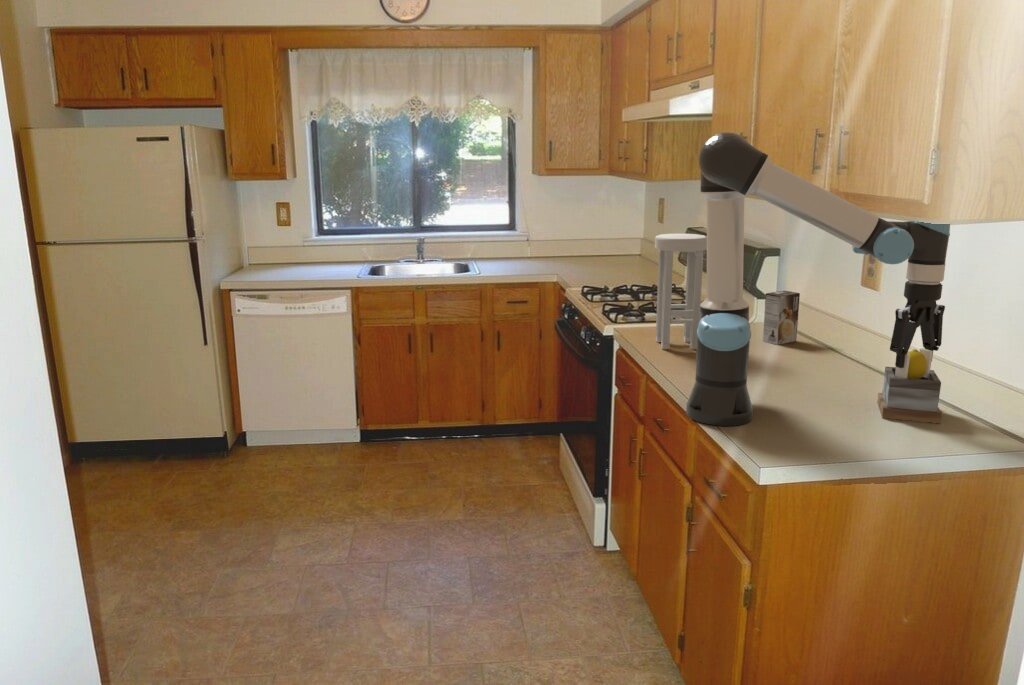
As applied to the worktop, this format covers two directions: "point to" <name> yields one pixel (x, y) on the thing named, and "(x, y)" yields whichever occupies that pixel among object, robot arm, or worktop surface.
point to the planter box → (910, 397)
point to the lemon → (916, 365)
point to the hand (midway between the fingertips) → (911, 378)
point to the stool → (693, 286)
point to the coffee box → (781, 317)
